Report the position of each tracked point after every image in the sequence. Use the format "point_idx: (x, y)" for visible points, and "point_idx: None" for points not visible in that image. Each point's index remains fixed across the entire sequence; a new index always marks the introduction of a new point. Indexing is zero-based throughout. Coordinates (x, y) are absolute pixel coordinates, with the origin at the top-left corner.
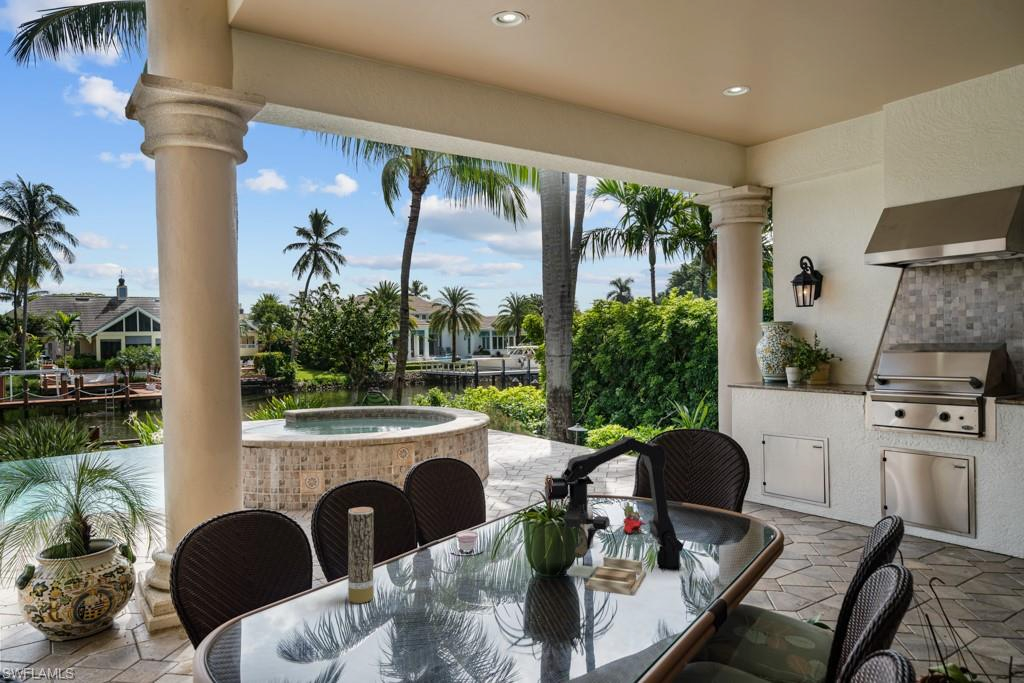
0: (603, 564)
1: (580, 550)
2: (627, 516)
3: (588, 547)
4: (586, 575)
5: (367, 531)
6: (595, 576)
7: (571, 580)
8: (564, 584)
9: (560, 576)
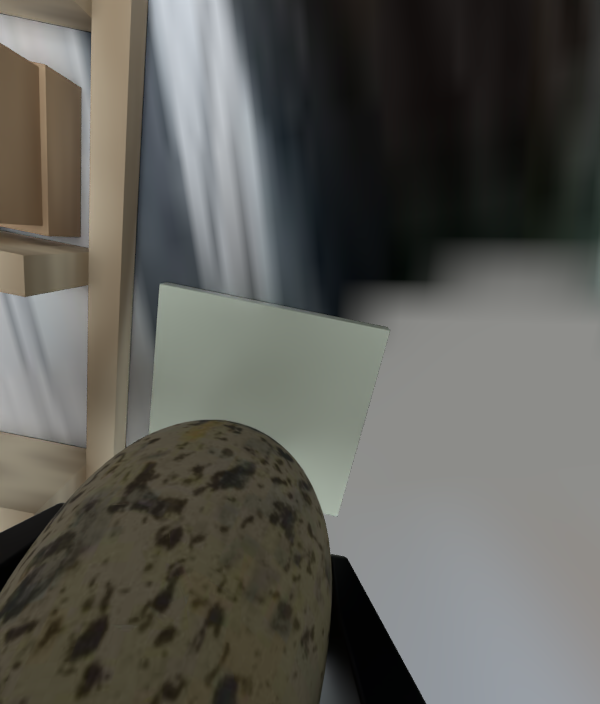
0: (70, 477)
1: (155, 439)
2: None
3: (42, 516)
4: (179, 300)
5: None
6: (2, 45)
7: (290, 207)
8: (340, 85)
9: (384, 287)
